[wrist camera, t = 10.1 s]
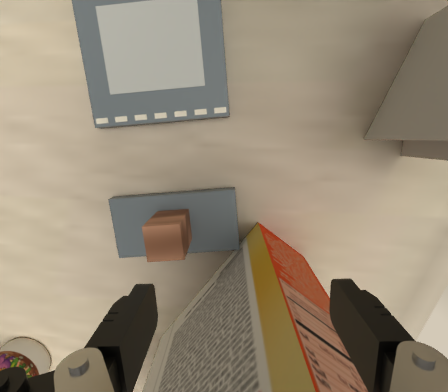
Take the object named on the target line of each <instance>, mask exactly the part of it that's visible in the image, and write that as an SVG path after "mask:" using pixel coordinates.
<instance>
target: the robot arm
mask: <svg viewBox="0 0 448 392" xmlns="http://www.w3.org/2000/svg"><path fill="white" fill-rule="evenodd" d="M329 312H330V318H331V322H332V324H333V326H334V328H335V330H336V332H337V334H338V336H339V338H340V340H341V341H342V343H343V345H344V347H345V349H346V351H347V353H348V355H349V356H350V358H351V360H352V362H353V364H354V366H355V368H356V370H357V371H358V373H359V375H360V377H361V379H362V381H363V383H364V385H365V386H366V388H367V390H368V392H448V359H447V358H446V357H445V356H444V355H443V354H441V353H440V352H439V351H437V350H436V349H434V348H432V347H430V346H428V345H426V344H423V343H420V342H416V341H415V340H414V339H413V338H412V337H411V336H410V334H409V333H408V332H407V331H406V330H405V329H404V328H403V327H402V325H401V324H400V323H399V322H398V321H397V320H396V319H395V317H394V316H392V315H391V313H390V312H389V311H388V310H387V308H385V306H384V305H383V304H382V303H381V302H380V301H379V299H378V298H377V297H375V296H374V295H372V294H371V293H369V292H367V291H366V290H360V289H359V288H358V286H357V285H356V284H355V283H354V282H353V280H352V279H333V280H332V281H331V291H330V307H329ZM157 321H158V312H157V304H156V296H155V288H154V285H153V284H136V285H135V286H134V288H133V289H132V291H131V293H130V294H129V296H123V297H122V298H120V299H119V300H118V301H116V302H115V303H114V304H113V305H112V307H111V308H110V310H109V311H108V314H106V316H105V317H104V319H103V322H101V323H100V325H99V326H98V328H97V329H96V331H95V332H94V334H93V335H92V337H91V338H90V340H89V341H88V343H87V344H86V346H85V347H84V348H83V349H80V350H78V351H75V352H73V353H71V354H70V355H68V356H67V357H66V358H64V359H63V360H62V361H61V362H60V363H59V365H58V366H57V367H56V369H55V370H54V371H51V372H48V373H44V374H40V375H37V376H33V377H30V378H27V374H26V371H25V370H24V369H23V368H21V367H10V368H6V369H3V370H1V371H0V392H133V389H134V386H135V384H136V381H137V378H138V376H139V373H140V370H141V368H142V365H143V362H144V359H145V357H146V354H147V351H148V349H149V346H150V343H151V341H152V338H153V335H154V332H155V330H156V327H157Z"/></svg>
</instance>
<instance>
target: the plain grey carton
mask: <svg viewBox="0 0 448 392" xmlns="http://www.w3.org/2000/svg"><path fill="white" fill-rule="evenodd" d="M364 139H365V140H403V146H402V151H401V156H408V157H419V158H429V159H439V160H448V6H447V7H445V8H444V9H442V10H440V11H439V12H437V13H435V14H434V15H432V16H430V17H429V18H427V19H426V20H425V21H424V23H423V25H422V27H421V29H420V31H419V33H418V35H417V37H416V39H415V41H414V42H413V44H412V46H411V48H410V50H409V52H408V54H407V56H406V58H405V60H404V62H403V64H402V66H401V68H400V70H399V72H398V74H397V75H396V77H395V79H394V81H393V83H392V85H391V87H390V89H389V91H388V93H387V95H386V97H385V99H384V101H383V103H382V105H381V107H380V108H379V110H378V112H377V114H376V116H375V118H374V120H373V122H372V124H371V126H370V128H369V130H368V132H367V134H366V136H365V138H364Z"/></svg>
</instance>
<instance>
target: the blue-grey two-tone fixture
mask: <svg viewBox="0 0 448 392" xmlns="http://www.w3.org/2000/svg"><path fill="white" fill-rule="evenodd" d="M108 200H109V205H110V211H111V216H112V221H113V227H114V232H115V238H116V243H117V249H118V254H119V258H126V257H140V256H147V262H156V261H171V260H184V259H185V256H186V254H187V253H198V252H213V251H227V250H240V248H239V235H238V222H237V209H236V196H235V187H233V188H220V189H207V190H194V191H182V192H169V193H156V194H143V195H131V196H118V197H112V198H110V199H108Z"/></svg>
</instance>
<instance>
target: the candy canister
mask: <svg viewBox="0 0 448 392" xmlns="http://www.w3.org/2000/svg"><path fill="white" fill-rule="evenodd" d="M50 363H51V359H50V355H49V353H48V351H47V350H46V348H45V347H44V346H43V345H42V344H40V343H39V342H37V341H35V340H32V339H29V338H17V339H14V340H11V341H9V342H7V343H6V344H5V345H4V346H3V347H1V348H0V371H1V370H3V369H6V368H10V367H21V368H23V369H24V370H25V371H26V374H27V378H30V377H33V376H37V375H40V374H44V373H47V372H48V370H49V367H50Z"/></svg>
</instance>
